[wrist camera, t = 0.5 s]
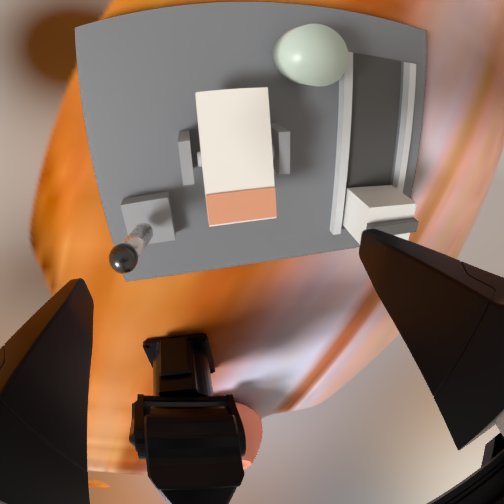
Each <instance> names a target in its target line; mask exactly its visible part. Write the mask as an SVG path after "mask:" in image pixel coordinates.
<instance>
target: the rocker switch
mask: <svg viewBox="0 0 504 504" xmlns="http://www.w3.org/2000/svg"><path fill="white" fill-rule="evenodd" d="M195 96H196V108H197V120H198V131H199V141H200V151H201V152H197V159H198V167H202V170H203V180H204V188H205V197H206V206H207V214H208V222H209V227H212V226H219V225H226V224H234V223H241V222H249V221H257V220H265V219H273V218H276V217H277V211H276V193H275V184H274V168H273V159H274V148H273V145H272V138H271V124H270V110H269V97H268V87H260V88H239V89H224V90H213V91H202V92H196V94H195Z"/></svg>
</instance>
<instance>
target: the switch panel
mask: <svg viewBox="0 0 504 504" xmlns="http://www.w3.org/2000/svg"><path fill="white" fill-rule="evenodd" d="M307 24H322V25H325V26H328V27H330V28H332V29H333V30H335V31H336V32H337V33H338V34H339V35H340V36H341V37H342V38H343V40H344V42H345V44H346V46H347V49H348V54H349V62H348V66H347V69H346V71H345V73H344V74H343V76H342V77H341V78H340V79H339V80H338V81H336V82H335V83H333V84H331V85H327V86H320V87H318V86H311V85H305V84H299V83H295V82H292V81H290V80H288V79H286V78H285V77H283V76H282V75H281V74H280V73H279V71H278V70H277V69H276V67H275V65H274V62H273V56H272V51H273V46H274V44H275V42H276V40H277V39H278V37H279V36H280V35H281V34H283V33H284V32H286V31H288V30H290V29H293V28H297V27H300V26H303V25H307ZM75 40H76V56H77V67H78V77H79V85H80V93H81V101H82V108H83V115H84V121H85V127H86V133H87V138H88V143H89V149H90V154H91V159H92V163H93V168H94V172H95V177H96V181H97V185H98V190H99V194H100V198H101V202H102V205H103V209H104V213H105V217H106V220H107V224H108V227H109V231H110V234H111V238H112V241H113V244H114V247H115V246H116V245H118V244H121V243H122V242H123V241H124V240H125V239H126V237H127V236H128V235H129V234H130V233H131V232H132V230H133V229H134V228H135V227H136V226H137V225H138V224H140V223H147V224H149V225H150V226H151V227H152V229H153V237H152V239H151V240H150V241H149V243H148V244H147V246H146V247H145V248H144V250H143V251H142V252H141V254H140V255H139V257H138V263H137V265H136V267H135V268H134V270H132V271H131V272H129V273H125V274H123V275H124V278H125V281H126V282H128V281H135V280H142V279H149V278H156V277H163V276H170V275H177V274H184V273H191V272H198V271H205V270H212V269H219V268H226V267H233V266H239V265H246V264H253V263H259V262H266V261H273V260H279V259H286V258H292V257H299V256H305V255H312V254H318V253H325V252H331V251H337V250H344V249H350V248H356V247H360V244H359V243H358V242H357V241H356V240H355V239H354V237H353V236H352V235H351V234H350V233H349V232H348V231H347V229H346V228H345V227H344V226H343V217H344V209H345V200H346V191H347V188H353V187H368V186H384V185H392V186H394V187H395V188H397V189H398V190H399V191H401V192H402V193H403V194H405V195H406V196H407V197H409V198H411V193H412V187H413V182H414V176H415V170H416V164H417V158H418V151H419V143H420V136H421V127H422V118H423V107H424V95H425V78H426V31H425V30H422V29H419V28H416V27H412V26H409V25H406V24H402V23H399V22H395V21H391V20H387V19H384V18H379V17H375V16H371V15H366V14H362V13H357V12H351V11H346V10H340V9H334V8H327V7H320V6H312V5H302V4H291V3H276V2H215V3H200V4H188V5H179V6H171V7H164V8H157V9H151V10H145V11H140V12H134V13H129V14H125V15H120V16H116V17H112V18H108V19H104V20H100V21H96V22H93V23H89V24H86V25H82V26H79V27H76V28H75ZM260 87H268V97H269V110H270V124H271V138H272V145H273V148H274V159H273V168H274V184H275V193H276V211H277V217H276V218H273V219H265V220H257V221H249V222H241V223H234V224H226V225H219V226H212V227H209V222H208V214H207V206H206V197H205V188H204V180H203V170H202V167H198V159H197V152H201V151H200V141H199V131H198V120H197V108H196V96H195V94H196V92H202V91H213V90H224V89H239V88H260Z"/></svg>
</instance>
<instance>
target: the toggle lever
mask: <svg viewBox="0 0 504 504" xmlns="http://www.w3.org/2000/svg"><path fill="white" fill-rule="evenodd" d="M152 237H153V229H152V227H151V226H150V225H149V224H147V223H140V224H138V225H137V226H136V227H135V228H134V229H133V230H132V232H131V233H130V234H129V235H128V236H127V237H126V239H125V240H124V241H123V242H122V243H121V244H118V245H116V246H115V247H113V249H112V250H111V252H110V255H109V262H110V265H111V267H112V268H113V269H114V270H115V271H116V272H118V273H122V274H125V273H129V272H131V271H132V270H134V268H135V267H136V265H137V263H138V257H139V255H140V254H141V252H142V251H143V250H144V248H145V247H146V246H147V244H148V243H149V241H150V240H151V239H152Z"/></svg>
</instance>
